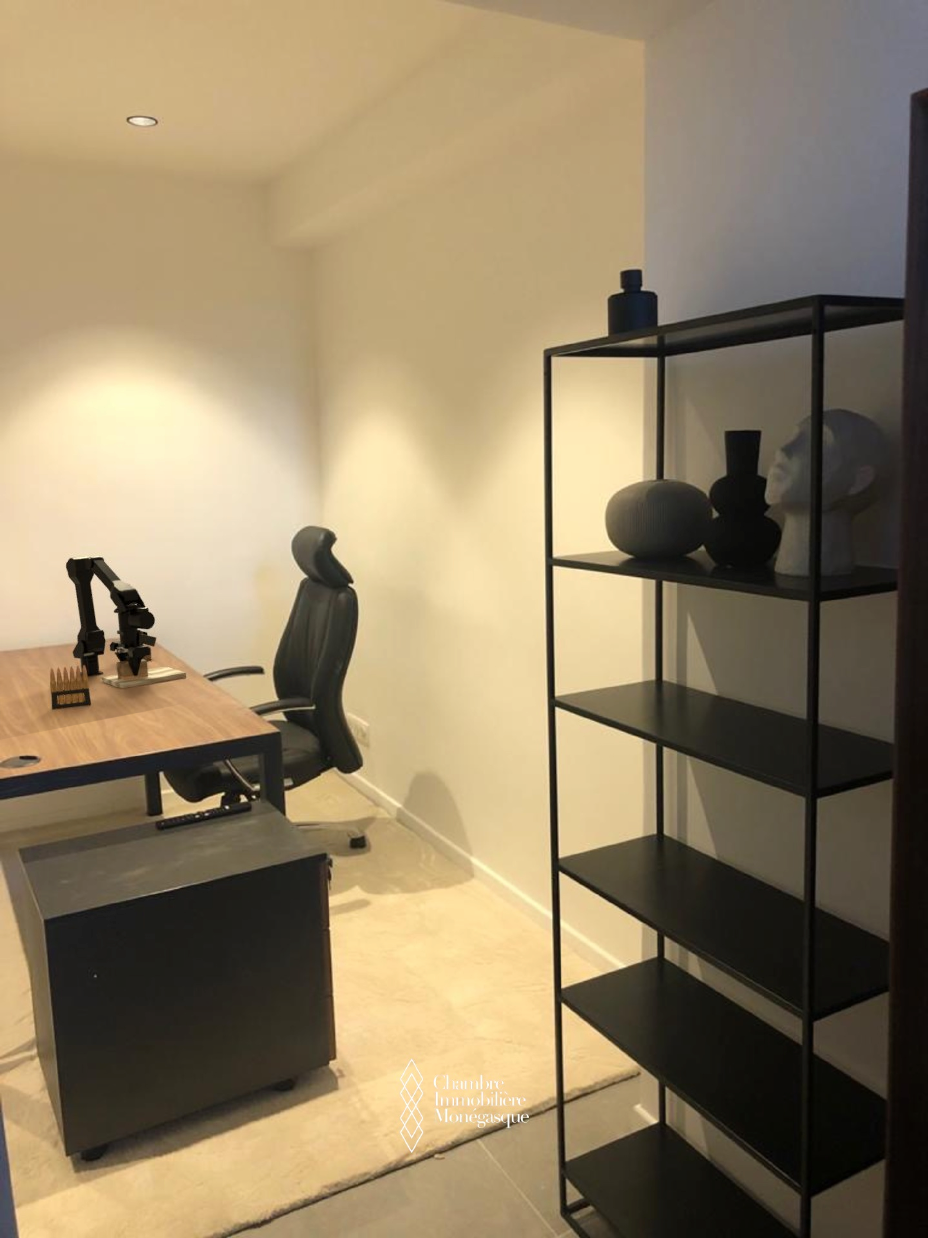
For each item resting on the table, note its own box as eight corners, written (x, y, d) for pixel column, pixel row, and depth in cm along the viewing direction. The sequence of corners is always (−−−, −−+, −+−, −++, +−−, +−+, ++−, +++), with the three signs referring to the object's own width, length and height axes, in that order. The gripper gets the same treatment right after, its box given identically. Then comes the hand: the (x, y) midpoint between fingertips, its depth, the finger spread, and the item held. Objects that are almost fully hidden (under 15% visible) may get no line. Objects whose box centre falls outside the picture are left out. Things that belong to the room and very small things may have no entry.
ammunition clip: (90, 703, 300) (87, 664, 298) (91, 705, 299) (87, 665, 297) (52, 708, 296) (48, 668, 294) (52, 709, 295) (48, 669, 293)
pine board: (102, 681, 330) (102, 677, 330) (166, 670, 345) (165, 666, 344) (121, 688, 319) (120, 683, 319) (186, 677, 334) (185, 672, 333)
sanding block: (117, 677, 329) (116, 662, 328) (141, 673, 334) (140, 658, 333) (124, 679, 325) (123, 664, 324) (148, 675, 330) (146, 660, 329)
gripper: (164, 626, 325) (168, 674, 327) (139, 620, 339) (143, 666, 341) (131, 631, 318) (135, 680, 320) (107, 625, 332) (111, 672, 334)
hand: (132, 674), depth 329 cm, fingers closed on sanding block, 5 cm apart
